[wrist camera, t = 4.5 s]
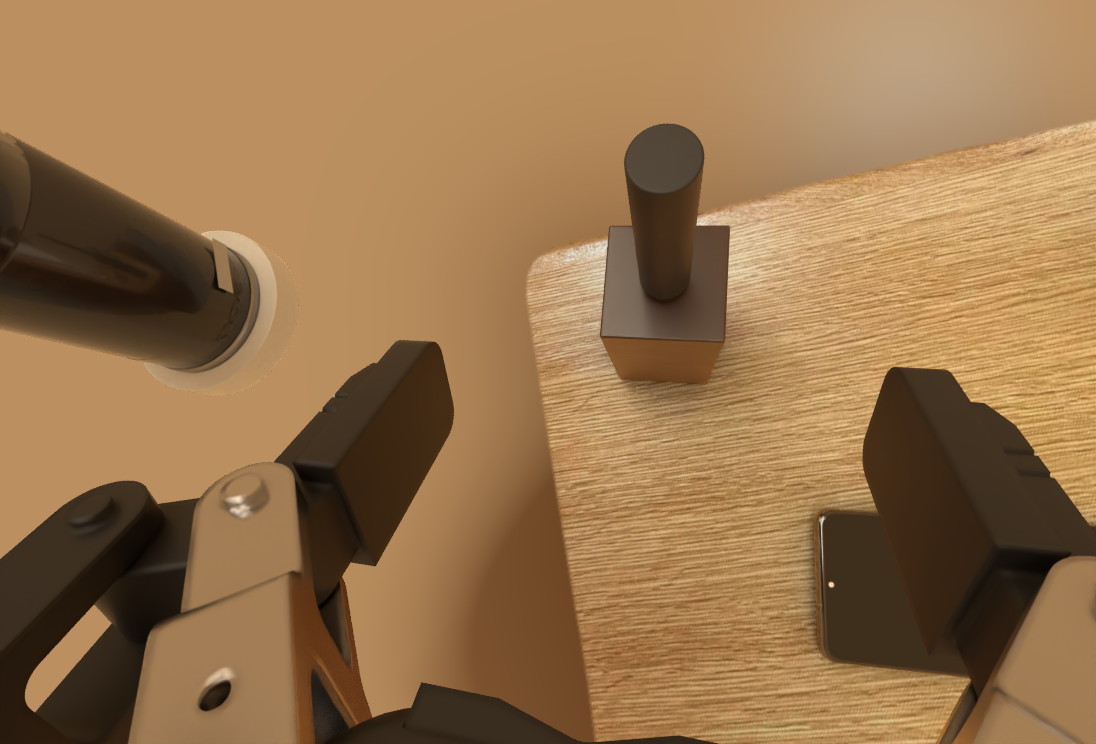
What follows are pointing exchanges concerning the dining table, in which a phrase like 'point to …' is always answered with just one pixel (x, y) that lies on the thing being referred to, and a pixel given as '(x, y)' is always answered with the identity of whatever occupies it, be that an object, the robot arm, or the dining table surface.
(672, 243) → the stylus
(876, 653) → the smartphone
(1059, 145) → the dining table surface
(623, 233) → the stand
